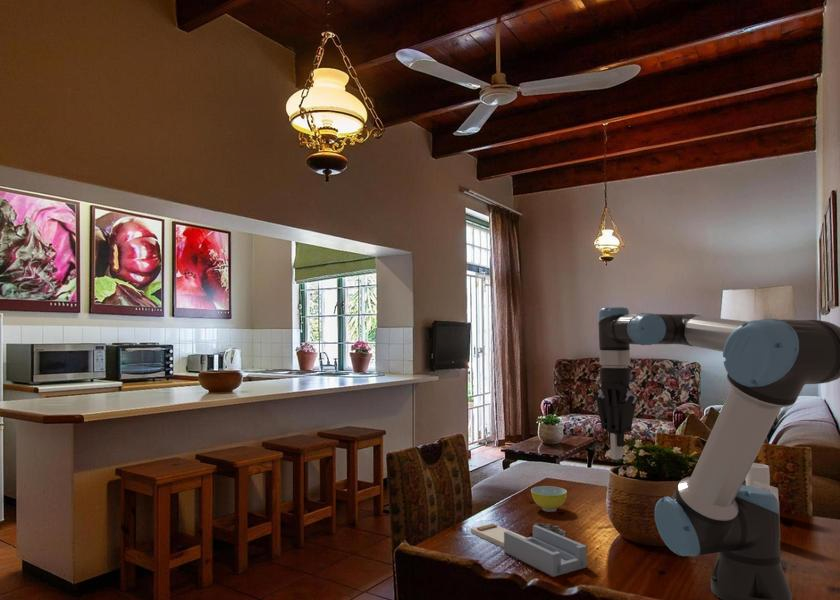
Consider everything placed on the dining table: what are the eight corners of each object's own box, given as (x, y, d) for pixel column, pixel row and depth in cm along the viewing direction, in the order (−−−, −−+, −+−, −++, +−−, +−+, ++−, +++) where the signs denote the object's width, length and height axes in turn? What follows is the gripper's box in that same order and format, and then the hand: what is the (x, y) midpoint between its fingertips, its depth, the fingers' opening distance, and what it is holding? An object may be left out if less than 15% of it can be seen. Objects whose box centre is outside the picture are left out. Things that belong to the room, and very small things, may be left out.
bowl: (524, 506, 188) (524, 487, 188) (555, 503, 191) (555, 484, 192) (542, 516, 177) (541, 496, 177) (574, 513, 180) (574, 493, 181)
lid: (530, 546, 154) (530, 537, 154) (509, 552, 149) (509, 543, 150) (491, 529, 167) (491, 521, 167) (470, 534, 163) (470, 526, 163)
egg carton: (568, 549, 151) (568, 533, 151) (539, 548, 151) (539, 532, 152) (560, 534, 162) (559, 520, 162) (533, 534, 162) (533, 519, 162)
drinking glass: (741, 511, 182) (739, 464, 183) (755, 509, 185) (753, 462, 186) (761, 518, 176) (760, 468, 177) (776, 515, 178) (774, 466, 179)
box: (586, 567, 139) (586, 545, 139) (553, 576, 133) (552, 554, 133) (536, 543, 154) (536, 524, 154) (504, 551, 148) (504, 532, 149)
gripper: (645, 367, 145) (647, 461, 144) (605, 365, 156) (606, 452, 155) (625, 368, 141) (627, 465, 140) (585, 366, 152) (587, 455, 151)
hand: (616, 458), depth 147 cm, fingers closed
